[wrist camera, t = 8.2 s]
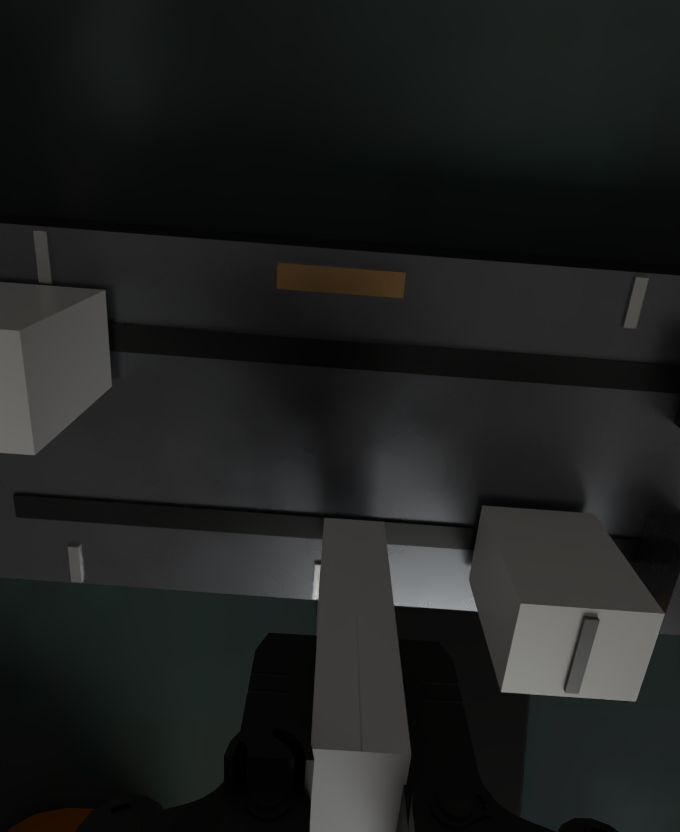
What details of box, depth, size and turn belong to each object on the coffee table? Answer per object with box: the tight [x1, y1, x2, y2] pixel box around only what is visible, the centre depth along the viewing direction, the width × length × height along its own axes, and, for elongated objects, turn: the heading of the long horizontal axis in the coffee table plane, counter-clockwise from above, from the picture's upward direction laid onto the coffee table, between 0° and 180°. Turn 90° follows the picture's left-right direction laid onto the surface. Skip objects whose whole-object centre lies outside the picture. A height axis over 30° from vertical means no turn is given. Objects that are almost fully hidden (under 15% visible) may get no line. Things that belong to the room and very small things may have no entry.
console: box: [0, 214, 680, 635], centre depth 16 cm, size 28×10×4 cm, turn 86°
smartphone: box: [394, 605, 530, 817], centre depth 22 cm, size 7×1×15 cm
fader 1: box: [0, 282, 112, 455], centre depth 13 cm, size 3×2×4 cm
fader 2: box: [469, 506, 665, 701], centre depth 15 cm, size 3×2×4 cm
